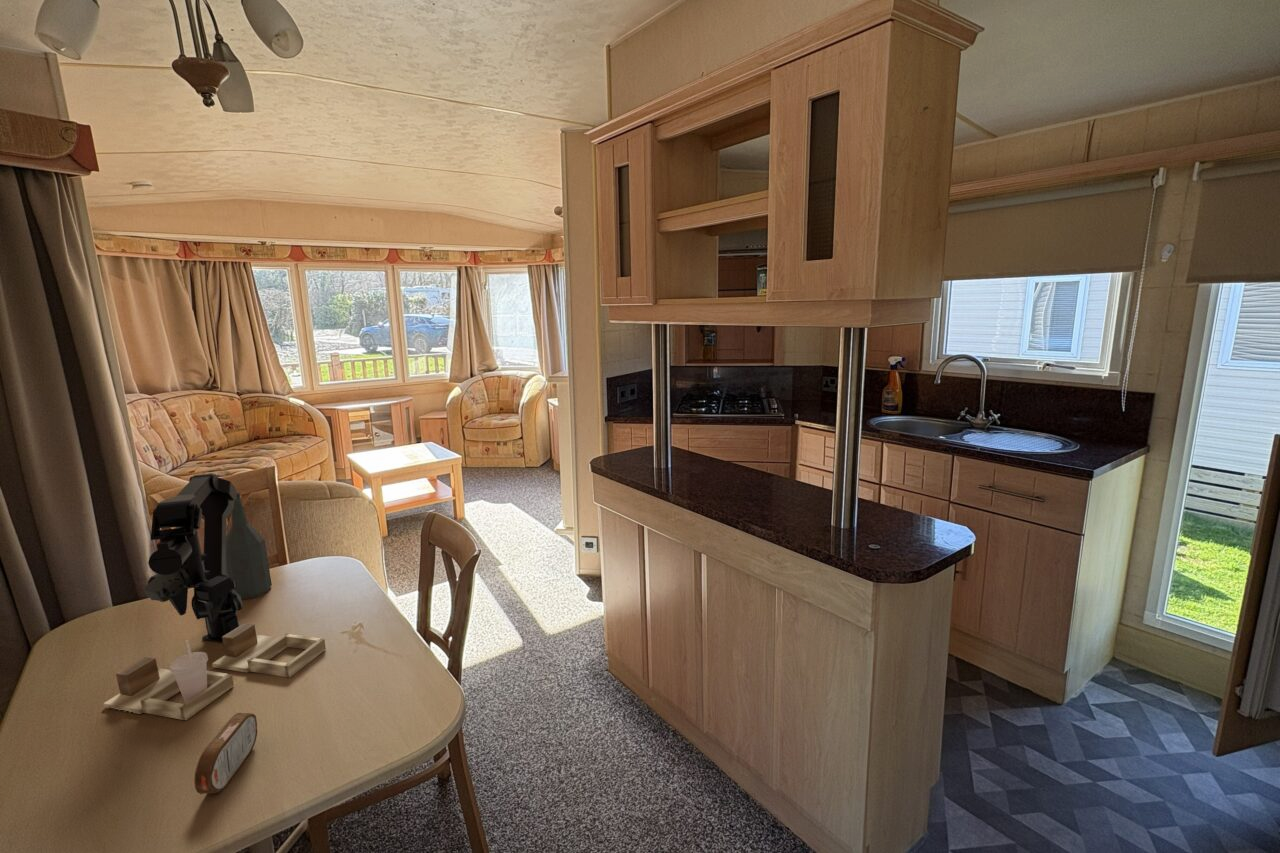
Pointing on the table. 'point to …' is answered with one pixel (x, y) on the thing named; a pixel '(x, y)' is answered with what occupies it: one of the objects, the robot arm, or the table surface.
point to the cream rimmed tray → (162, 691)
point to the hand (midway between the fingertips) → (198, 617)
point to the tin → (226, 753)
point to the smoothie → (190, 673)
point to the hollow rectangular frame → (265, 651)
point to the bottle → (246, 556)
